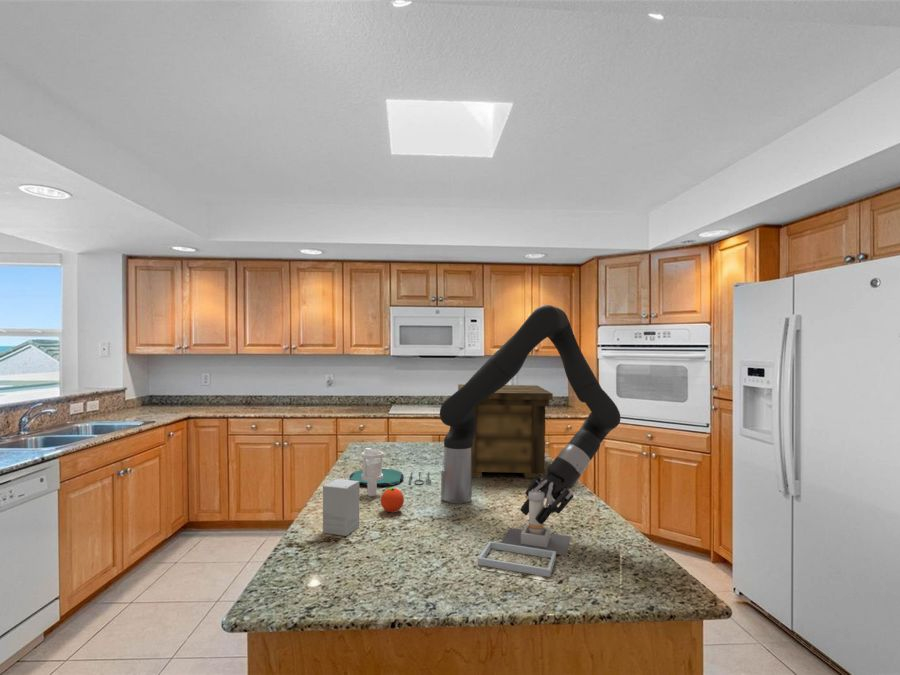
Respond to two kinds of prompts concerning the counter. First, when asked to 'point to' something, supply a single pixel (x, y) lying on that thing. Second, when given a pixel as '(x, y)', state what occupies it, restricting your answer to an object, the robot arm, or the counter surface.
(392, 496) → the clementine
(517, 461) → the crate
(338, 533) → the supplement box
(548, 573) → the tray
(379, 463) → the drinking glass
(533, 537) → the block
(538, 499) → the white bottle
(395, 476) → the cutlery set
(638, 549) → the counter surface
